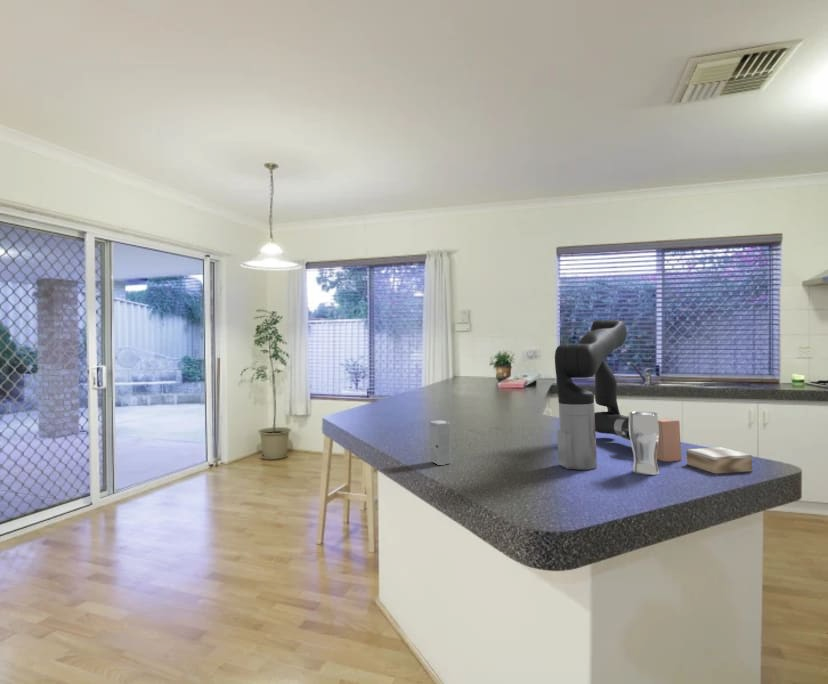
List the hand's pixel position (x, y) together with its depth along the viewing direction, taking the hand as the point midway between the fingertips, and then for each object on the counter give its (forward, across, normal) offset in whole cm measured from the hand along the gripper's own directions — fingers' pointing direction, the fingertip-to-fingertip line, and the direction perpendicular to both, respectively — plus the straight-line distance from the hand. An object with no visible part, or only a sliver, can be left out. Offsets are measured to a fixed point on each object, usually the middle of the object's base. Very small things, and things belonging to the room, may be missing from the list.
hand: (664, 437), depth 133 cm
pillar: (+1, 0, +6) cm, 6 cm away
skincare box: (-10, -63, +6) cm, 64 cm away
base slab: (+13, +6, +6) cm, 15 cm away
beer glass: (+13, -14, +6) cm, 20 cm away
